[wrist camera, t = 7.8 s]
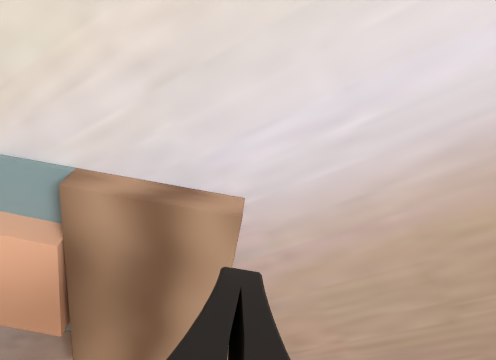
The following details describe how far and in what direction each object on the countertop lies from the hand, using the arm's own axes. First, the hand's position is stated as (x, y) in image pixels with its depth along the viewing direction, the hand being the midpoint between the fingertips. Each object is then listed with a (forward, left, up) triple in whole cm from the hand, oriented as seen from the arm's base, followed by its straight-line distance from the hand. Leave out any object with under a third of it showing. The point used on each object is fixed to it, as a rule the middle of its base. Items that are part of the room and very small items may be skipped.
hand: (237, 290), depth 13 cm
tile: (-13, -10, -9) cm, 19 cm away
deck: (-5, -10, -9) cm, 15 cm away
